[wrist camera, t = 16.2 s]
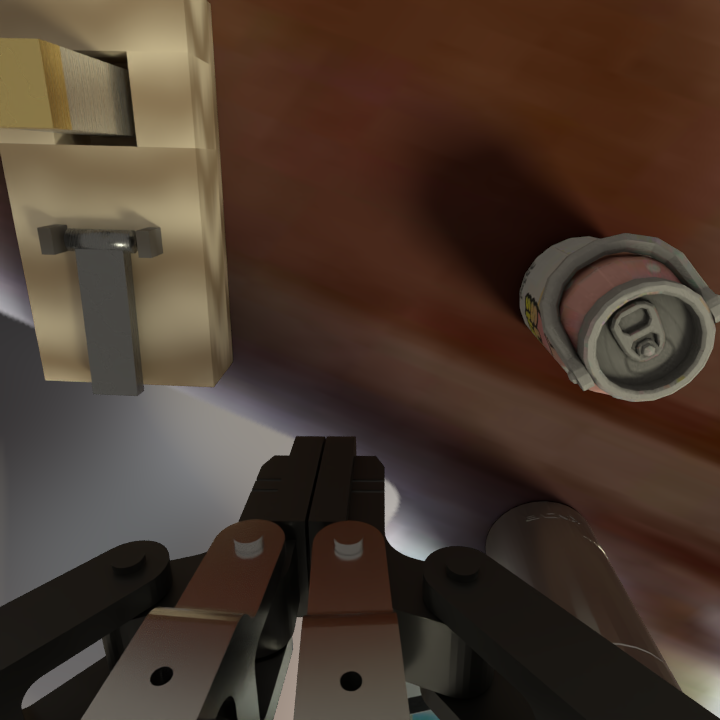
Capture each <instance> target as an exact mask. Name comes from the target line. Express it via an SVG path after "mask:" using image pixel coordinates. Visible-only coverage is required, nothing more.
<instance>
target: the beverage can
mask: <svg viewBox="0 0 720 720" xmlns="http://www.w3.org/2000/svg"><path fill="white" fill-rule="evenodd" d="M520 310H521V313H522V316H523V319H524V322H525V324H526V325H527V327H528V328H529V329H530V330H531V331H532V333H533V334H534V335H535V336H536V337H537V339H538V340H539V341H540V342H541V343H542V344H543V346H544V347H545V348H546V349H547V350H548V351H549V353H550V354H551V355H552V356H553V357H554V358H555V360H556V361H557V362H558V363H559V364H560V365H561V366H562V368H563V369H564V370H565V371H566V372H567V373H568V376H569V379H570V380H571V381H572V382H573V383H574V384H579V386H580V387H581V389H582V390H583V391H586V390H587V389H589V390H591V391H595V392H599V393H604V394H609V395H611V396H613V397H615V398H618V399H623V400H627V401H632V402H638V401H651V400H656V399H659V398H662V397H664V396H667V395H670V394H673V393H674V392H676V391H677V390H679V389H681V388H682V387H684V386H685V385H687V384H688V383H690V382H691V381H692V380H693V378H694V377H695V376H696V375H697V374H698V373H699V372H700V371H701V369H702V368H703V367H704V366H705V364H706V362H707V360H708V358H709V356H710V353H711V351H712V349H713V345H714V338H715V330H716V328H715V323H717V322H719V321H720V295H717V294H715V293H714V292H713V291H712V290H711V289H710V288H709V287H708V286H707V285H706V283H705V282H704V280H703V279H702V278H701V276H700V275H699V274H698V272H697V271H696V270H695V268H694V267H693V266H692V264H691V263H690V262H689V260H688V259H687V258H686V256H685V255H684V254H683V253H682V252H680V251H679V250H677V249H675V248H674V247H672V246H670V245H669V244H667V243H665V242H664V241H662V240H660V239H659V238H656V237H649V236H642V235H635V234H628V233H624V234H619V235H615V236H611V237H606V238H602V239H599V238H594V237H590V236H587V237H577V238H569V239H567V240H564V241H562V242H559V243H557V244H555V245H552V246H551V247H549V248H548V249H547V250H546V251H544V252H543V253H542V254H541V255H539V256H538V257H537V258H536V259H535V261H534V262H533V263H532V265H531V266H530V268H529V269H528V271H527V272H526V273H525V276H524V279H523V282H522V285H521V288H520Z"/></svg>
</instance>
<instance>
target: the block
mask: <svg viewBox="0 0 720 720" xmlns="http://www.w3.org/2000/svg"><path fill="white" fill-rule="evenodd" d="M0 38H30V39H41V40H44V41H47V42H49V43H52V44H55V45H58V46H61V47H64V48H66V49H69V50H72V51H75V52H78V53H81V54H83V55H86V56H89V57H92V58H95V59H98V60H100V61H103V62H106V63H109V64H112V65H115V66H117V67H120V68H123V69H126V70H129V78H130V87H131V96H132V104H133V113H134V122H135V131H136V138H133V137H99V136H87V135H75V134H64V133H52V132H40V131H28V130H17V129H5V128H0V154H1V159H2V164H3V169H4V174H5V179H6V184H7V189H8V194H9V199H10V204H11V209H12V214H13V219H14V225H15V230H16V235H17V240H18V245H19V250H20V255H21V260H22V265H23V270H24V275H25V280H26V285H27V290H28V295H29V300H30V305H31V310H32V315H33V320H34V325H35V330H36V335H37V340H38V345H39V350H40V355H41V360H42V365H43V370H44V375H45V380H51V381H75V382H92V380H91V372H90V365H89V357H88V349H87V341H86V333H85V325H84V317H83V309H82V301H81V294H80V286H79V278H78V270H77V262H76V254H75V251H69V250H68V249H67V248H66V246H65V244H64V233H65V231H66V229H68V228H76V229H108V230H134V231H135V232H136V240H137V248H138V251H137V252H136V253H131V261H132V271H133V281H134V292H135V302H136V312H137V323H138V333H139V343H140V354H141V364H142V374H143V384H149V385H172V386H196V387H214V386H215V385H216V384H217V382H218V381H219V380H220V379H221V377H222V376H223V375H224V373H225V372H226V371H227V369H228V368H229V367H230V365H231V364H232V363H233V353H232V337H231V321H230V305H229V289H228V273H227V258H226V242H225V226H224V210H223V194H222V178H221V163H220V147H219V131H218V115H217V99H216V83H215V68H214V52H213V36H212V20H211V4H210V3H209V2H208V1H207V0H0Z"/></svg>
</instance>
